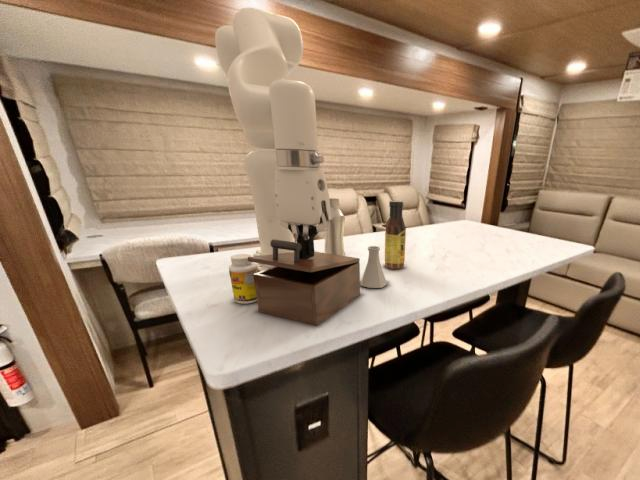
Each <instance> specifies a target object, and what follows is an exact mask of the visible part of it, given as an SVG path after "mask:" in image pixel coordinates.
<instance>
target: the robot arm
mask: <svg viewBox="0 0 640 480" xmlns="http://www.w3.org/2000/svg"><path fill="white" fill-rule="evenodd" d="M214 43H215V50H216V55H217V58H218V62H219V64H220V67H221V70H222V72H223V75H224V77H225V79H226V81H227V86H228V92H229V97H230V101H231V104H232V108H233V111H234V114H235V116H236V120H237V121H238V123H239V124H240V125H241V128H242V131H243V136H244V139H245V141H246V143H247V144H248V146H249V147H251V148H253V149H255V150H252V151H250V152H249V153H247V154H246V156H244V160H243V164H244V170H245V171H244V172H245V175H246V178H247V180H248V181H247V182H248V185H249V188H250V192H251V196H252V200H253V201H252V202H253V207H254V208H253V209H254V214H255V221H256V227H257V234H258V241H259V247H260V249H257V250H256V251H255V253H253V255H252V257H253V256H262V255H271V254H273V247H271V244H270V243H271V240H273V239H275V240H282V241H289V242H295V240H296V243H300V244H301V250H300V251H299V258H300V259H302V258H303V259H308V258H311V257H313V256H314V252H315V241H314V239H315V238H316V237H317V235H318V234H319V233H322V232H324V231H326V230H328V225H327V222H329V221H330V220H331V210H330V200H329V198H330V194H329V189H328V188H329V187H328V183H327V179H326V175H325V171H324V170H320V164H324V161H325V160H324V159H325V158H324V156H323V155H320V152H319V143H318V142H319V140H318V126H317V109H316V108H317V107H316V97H315V92H314V90H313V88H312V87H311V85H310V84H307V83H306V82H302V81H299V80H293V79H286V78H287V76H290V75H291V73H292V72H293V71H295V69H297V67H298V66H299V65H300V64H301V62H302V59H303V56H304V39H303V35H302V31H301V30H300V27H299V25H298V24H297V23H296V22H295V21H294V20H293V19H292V18H291V17H288V16H284V15H281V14H277V13H273V12H270V11H266V10H262V9H260V8H255V7H242V8H239V9H238V10H236V12H235V13H234V15H233V18H232V25H229V24H228V25H222V26H219V27H218V28H217V29H216V30H215V35H214ZM290 252H294V251H291V250H285V249H278V254H281V253H290ZM256 265H257V270H258V272H261V271H263V270H266V269H269V268H272V267H274V266H271V265H266V264H260V263H257V264H256Z"/></svg>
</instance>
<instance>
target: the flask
mask: <svg viewBox="0 0 640 480" xmlns="http://www.w3.org/2000/svg"><path fill="white" fill-rule="evenodd" d="M380 250H381V247H380V246H376V245H369V246H367V251H368V258H367V261H366V262H367V263H366V266H365V268H364V272H363V275H362V277H361V279H360V287H365V288H368V289H381V288H384V287H385V286H387V285H388V284H387V280H386V276H385V274H384V271H383V268H382V264H381V261H380V260H381V259H380Z"/></svg>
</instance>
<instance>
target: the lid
mask: <svg viewBox="0 0 640 480" xmlns="http://www.w3.org/2000/svg"><path fill="white" fill-rule="evenodd" d="M270 244H271V247H273V254H271V255H262V256H253V255H252V256H251V257H248V261H249V262H252V263H255V264H258V263H260V264H266V265H271V266H277V267H283V268H288V269H294V270H299V271H305V272H315V271H320V270H324V269H329V268H333V267H338V266H343V265H347V264H352V263H357V262H360V259H361V258H359V257H352V256H346V255H345V256H340V255H334V254H327V253H324V252H321V251H314V256H313V257H311V258H308V259H303V258H302V259H300V258H299V251H300V250H301V244H300V243H297V241H296V242H289V241H282V240H275V239H273V240H271V243H270ZM278 249H285V250H291V251H294V252H290V253H281V254H278Z"/></svg>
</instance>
